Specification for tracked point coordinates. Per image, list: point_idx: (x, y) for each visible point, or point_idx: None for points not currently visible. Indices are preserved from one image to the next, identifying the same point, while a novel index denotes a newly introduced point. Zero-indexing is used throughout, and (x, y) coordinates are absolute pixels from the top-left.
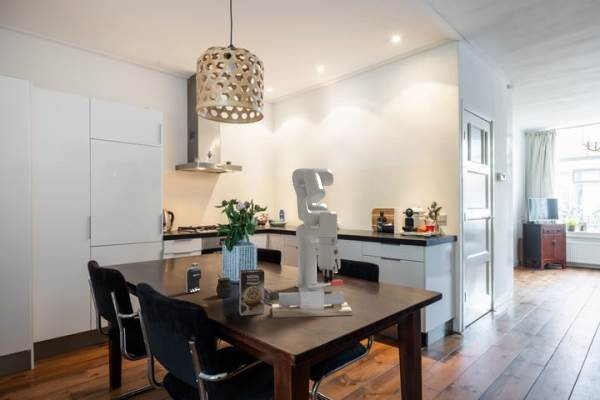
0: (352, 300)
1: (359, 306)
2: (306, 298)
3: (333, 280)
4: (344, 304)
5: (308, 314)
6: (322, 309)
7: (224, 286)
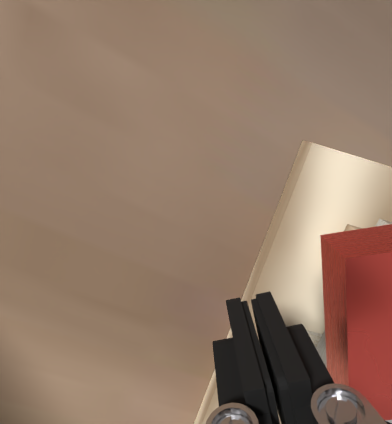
0: (189, 3)
1: (365, 45)
2: None
3: (384, 365)
4: (360, 185)
5: None
6: None
7: None
